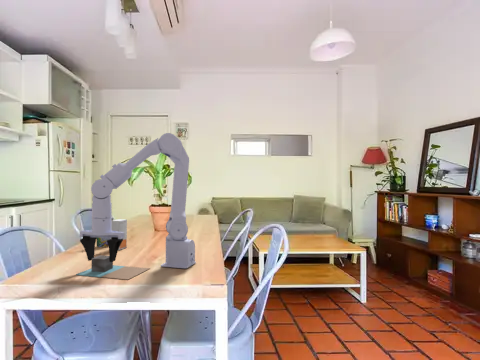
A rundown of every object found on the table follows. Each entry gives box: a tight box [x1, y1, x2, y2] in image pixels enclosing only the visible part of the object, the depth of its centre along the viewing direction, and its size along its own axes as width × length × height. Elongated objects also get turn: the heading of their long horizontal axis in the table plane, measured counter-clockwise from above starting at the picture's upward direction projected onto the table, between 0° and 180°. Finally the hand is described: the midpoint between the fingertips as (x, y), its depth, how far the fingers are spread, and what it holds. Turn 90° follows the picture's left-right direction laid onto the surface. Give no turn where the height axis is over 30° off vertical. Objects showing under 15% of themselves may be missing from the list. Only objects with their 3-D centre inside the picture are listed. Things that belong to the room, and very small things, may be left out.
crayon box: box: [96, 217, 114, 248], centre depth 142 cm, size 7×3×12 cm, turn 132°
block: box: [91, 254, 114, 272], centre depth 104 cm, size 4×4×4 cm
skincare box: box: [110, 218, 128, 251], centre depth 136 cm, size 6×4×12 cm
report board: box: [75, 264, 151, 281], centre depth 103 cm, size 18×12×1 cm, turn 75°
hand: (101, 260), depth 104 cm, fingers open, 7 cm apart
